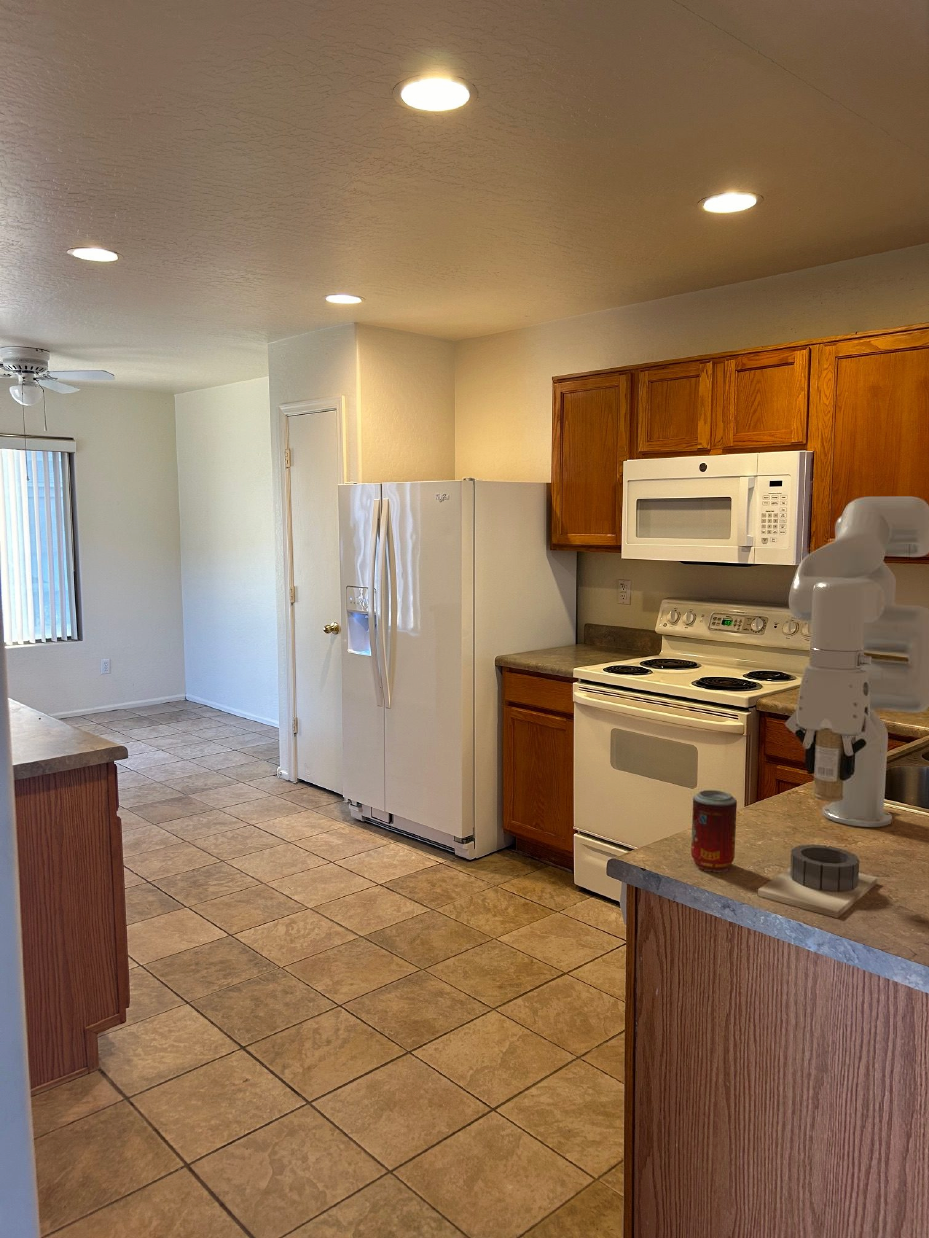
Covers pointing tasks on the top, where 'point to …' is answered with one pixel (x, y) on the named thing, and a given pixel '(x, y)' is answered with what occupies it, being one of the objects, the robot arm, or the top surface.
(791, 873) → the collar stand
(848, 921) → the top surface
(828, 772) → the sprinkles bottle
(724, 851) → the soda can
